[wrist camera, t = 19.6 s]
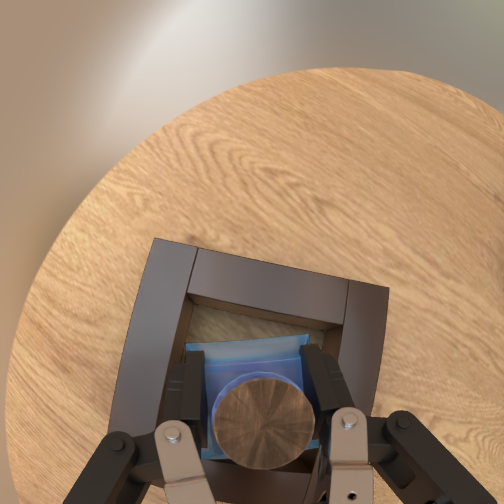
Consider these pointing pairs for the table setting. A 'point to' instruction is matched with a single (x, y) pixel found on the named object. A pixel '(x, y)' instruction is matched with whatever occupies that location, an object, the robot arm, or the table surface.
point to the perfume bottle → (256, 401)
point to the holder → (256, 305)
